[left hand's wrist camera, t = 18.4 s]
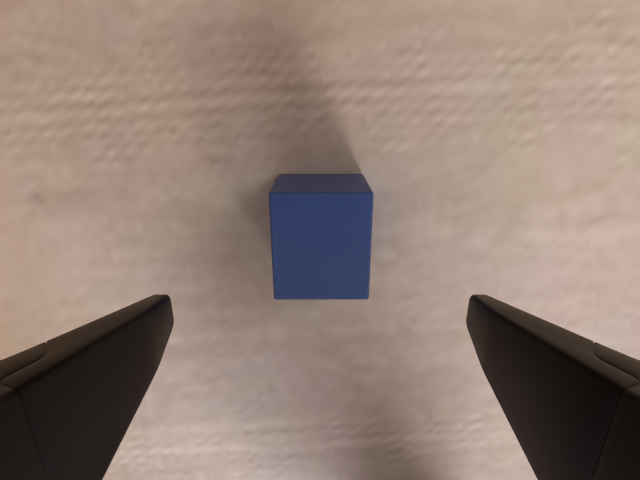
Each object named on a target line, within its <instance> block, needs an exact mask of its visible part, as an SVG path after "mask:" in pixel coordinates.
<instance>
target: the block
mask: <svg viewBox="0 0 640 480" xmlns="http://www.w3.org/2000/svg"><path fill="white" fill-rule="evenodd" d="M269 207H270V227H271V247H272V266H273V286H274V298H275V299H368V298H369V279H370V257H371V235H372V213H373V192H372V190H371V188H370V187H369V185H368V183H367V181H366V180H365V178H364V176H363V175H362V174H280V175H279V176H278V178H277V180H276V182H275V183H274V185H273V187H272V189H271V191H270V193H269Z"/></svg>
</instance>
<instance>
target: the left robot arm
mask: <svg viewBox="0 0 640 480" xmlns="http://www.w3.org/2000/svg"><path fill="white" fill-rule="evenodd" d="M173 323H174V319H173V312H172V306H171V300H170V297H169V296H168V295H153V296H150V297H148V298H146V299H143V300H141V301H139V302H137V303H134V304H132V305H130V306H127V307H125V308H123V309H120V310H118V311H116V312H113V313H111V314H109V315H106V316H104V317H102V318H99V319H97V320H95V321H93V322H90V323H88V324H86V325H83V326H81V327H79V328H76V329H74V330H72V331H69V332H67V333H65V334H62V335H60V336H58V337H55V338H53V339H51V340H49V341H47V343H45V342H44V343H41V344H39V345H37V346H34V347H32V348H30V349H27V350H25V351H23V352H20V353H18V354H15V355H13V356H11V357H8V358H6V359H3V360H1V361H0V480H102V479H103V477H104V475H105V473H106V471H107V469H108V467H109V465H110V463H111V461H112V459H113V457H114V455H115V453H116V451H117V449H118V447H119V445H120V443H121V441H122V439H123V437H124V435H125V433H126V431H127V429H128V427H129V425H130V423H131V421H132V419H133V417H134V415H135V413H136V411H137V409H138V407H139V405H140V403H141V401H142V399H143V397H144V395H145V393H146V391H147V389H148V387H149V385H150V383H151V381H152V379H153V377H154V375H155V373H156V371H157V369H158V366H159V364H160V361H161V359H162V356H163V353H164V350H165V347H166V345H167V342H168V339H169V336H170V334H171V331H172V328H173ZM466 323H467V328H468V331H469V334H470V336H471V339H472V342H473V345H474V347H475V350H476V353H477V356H478V359H479V361H480V364H481V366H482V369H483V371H484V373H485V375H486V377H487V379H488V381H489V383H490V385H491V387H492V389H493V391H494V393H495V395H496V397H497V399H498V401H499V403H500V405H501V407H502V409H503V411H504V413H505V415H506V417H507V419H508V421H509V423H510V425H511V427H512V429H513V431H514V433H515V435H516V437H517V439H518V441H519V443H520V445H521V447H522V449H523V451H524V453H525V455H526V457H527V459H528V461H529V463H530V465H531V467H532V469H533V471H534V473H535V475H536V477H537V479H538V480H640V361H639V360H637V359H634V358H632V357H629V356H627V355H625V354H622V353H620V352H617V351H615V350H613V349H610V348H608V347H606V346H603V345H601V344H599V343H596V342H595V343H593V341H591V340H589V339H587V338H585V337H582V336H580V335H578V334H575V333H573V332H571V331H568V330H566V329H564V328H561V327H559V326H557V325H554V324H552V323H550V322H547V321H545V320H543V319H541V318H538V317H536V316H534V315H531V314H529V313H527V312H524V311H522V310H520V309H517V308H515V307H513V306H510V305H508V304H506V303H503V302H501V301H499V300H497V299H494V298H492V297H490V296H487V295H472V296H471V297H470V300H469V306H468V312H467V319H466Z"/></svg>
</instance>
